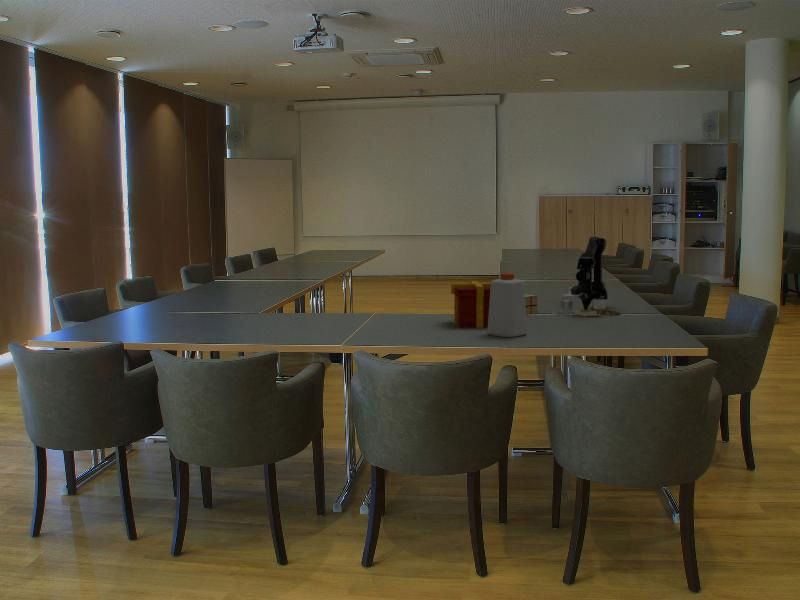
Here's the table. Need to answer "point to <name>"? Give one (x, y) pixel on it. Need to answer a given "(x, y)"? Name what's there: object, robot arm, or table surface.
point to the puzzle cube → (530, 304)
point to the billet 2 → (599, 304)
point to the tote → (561, 314)
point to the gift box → (471, 304)
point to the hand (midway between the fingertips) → (585, 309)
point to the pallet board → (607, 312)
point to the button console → (585, 313)
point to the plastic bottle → (507, 307)
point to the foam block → (571, 297)
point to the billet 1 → (565, 307)
